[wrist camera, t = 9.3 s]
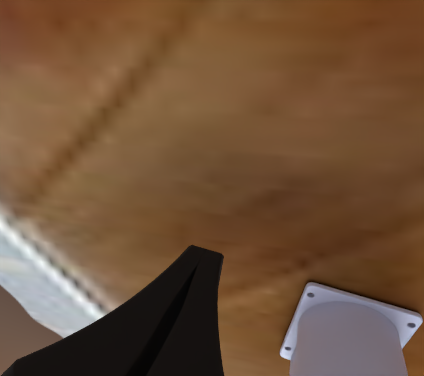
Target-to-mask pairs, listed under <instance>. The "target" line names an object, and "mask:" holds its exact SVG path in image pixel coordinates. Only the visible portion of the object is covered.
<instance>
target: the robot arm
mask: <svg viewBox="0 0 424 376" xmlns="http://www.w3.org/2000/svg"><path fill="white" fill-rule="evenodd" d="M223 258H224V256H223V255H222V254H221V253H218V252H214V251H211V250H207V249H204V248H201V247H197V246H194V245H191V246H189V247H188V248H187V249H186V250H185V251H184V252H183V253H182V254H181V255H180V256H179V258H178V259H177V260H176V261H174V262H173V263H172V264H171V265H170V266H169V267H168V268H167V269H166V270H165V271H164V272H163V273H161V274H160V275H159V276H158V277H157V278H156V279H155V280H154V281H152V282H151V283H150V284H149V285H147V286H146V287H145V288H144V289H142V290H141V291H140V292H139V293H137V294H136V295H135V296H133V297H132V298H131V299H129V300H128V301H126V302H125V303H124V304H122V305H121V306H119V307H118V308H116V309H115V310H113V311H112V312H110V313H108V314H107V315H105V316H104V317H102V318H100V319H99V320H97V321H95V322H94V323H92V324H90V325H88V326H87V327H85V328H83V329H81V330H79V331H77V332H75V333H73V334H71V335H70V336H68V337H66V338H64V339H62V340H60V341H58V342H56V343H54V344H52V345H49V346H47V347H45V348H43V349H40V350H38V351H36V352H33V353H31V354H29V355H27V356H24V357H22V358H20V359H17V360H16V361H15V362H14V363H13V364H12V365H11V366H10V367H9V368H8V369H7V370H6V371H5V372H4V373H3V374H2V375H1V376H224V372H223V366H222V359H221V351H220V341H219V330H218V307H217V301H218V286H219V280H220V275H221V269H222V264H223ZM310 293H313V294H310ZM422 322H423V320H422V317H421V315H420V314H419V313H417V312H413V311H410V310H407V309H403V308H400V307H396V306H393V305H389V304H386V303H383V302H379V301H376V300H372V299H369V298H365V297H362V296H359V295H355V294H352V293H348V292H345V291H342V290H338V289H335V288H331V287H328V286H324V285H321V284H318V283H314V282H310V283H307V285H306V286H305V289H304V291H303V294H302V296H301V299H300V301H299V304H298V306H297V309H296V311H295V314H294V316H293V319H292V321H291V324H290V326H289V329H288V331H287V334H286V336H285V339H284V341H283V344H282V346H281V349H280V356H282V357H283V358H286V359H289V360H291V361H290V374H289V376H408V373H407V369H406V365H405V360H404V356H403V352H402V348H403V347H404V346H405V345H406V343H407V342H408V341H409V339H410V338H411V337H412V335H413V334H414V333H415V331H416V330H417V329H418V328H419V326H420V325H421V324H422Z"/></svg>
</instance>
